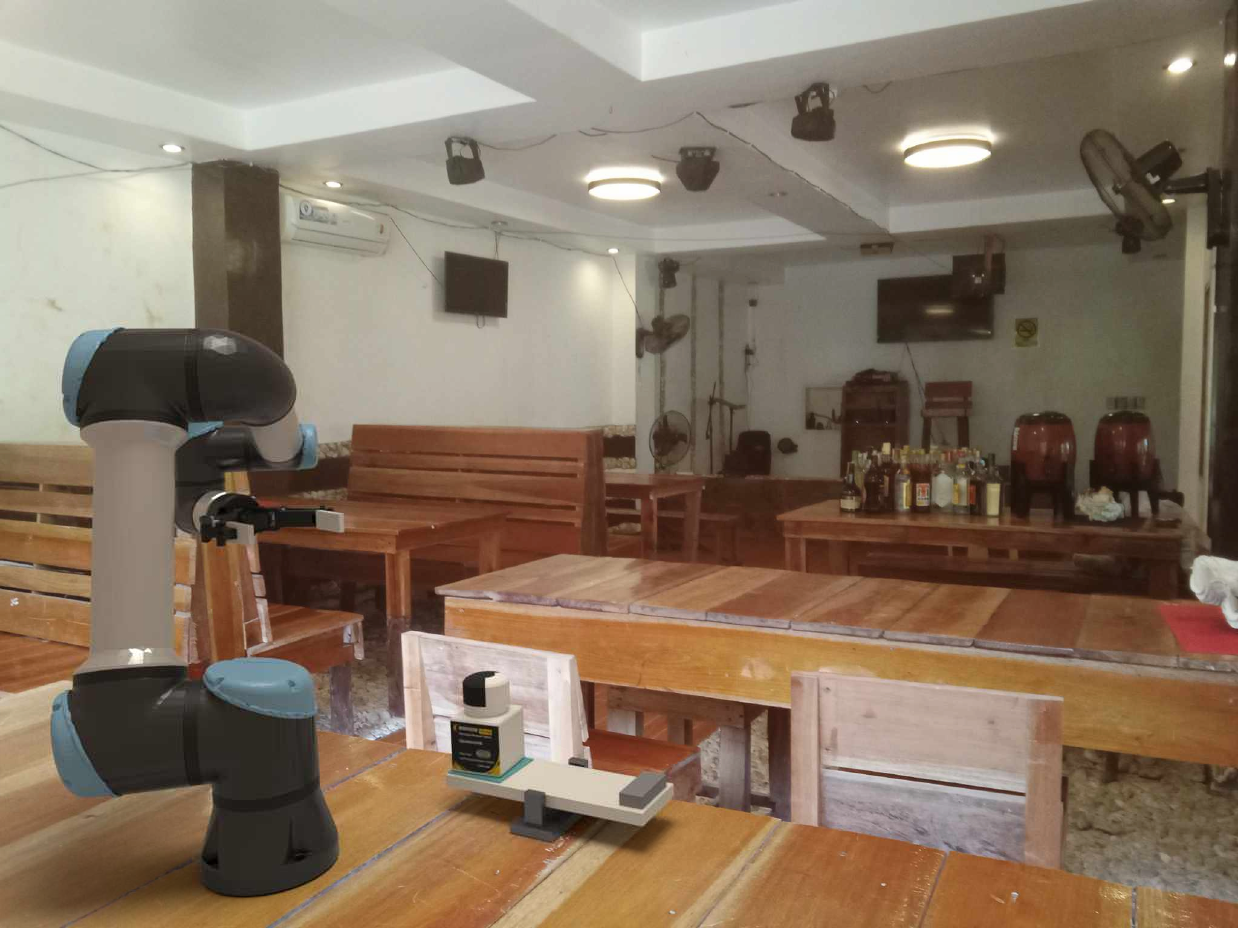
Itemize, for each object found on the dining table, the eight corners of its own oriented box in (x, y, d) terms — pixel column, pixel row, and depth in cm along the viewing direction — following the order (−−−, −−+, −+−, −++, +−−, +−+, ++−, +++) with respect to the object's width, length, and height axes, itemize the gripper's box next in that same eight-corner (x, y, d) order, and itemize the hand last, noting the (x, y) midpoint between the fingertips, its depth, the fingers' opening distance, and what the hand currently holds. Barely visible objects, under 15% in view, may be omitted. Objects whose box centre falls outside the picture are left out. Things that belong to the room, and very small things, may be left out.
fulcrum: (603, 798, 125) (602, 760, 124) (552, 842, 113) (551, 800, 113) (563, 790, 127) (562, 752, 127) (510, 832, 116) (508, 791, 115)
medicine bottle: (451, 771, 123) (447, 680, 122) (478, 751, 129) (475, 664, 128) (500, 778, 120) (496, 685, 119) (525, 757, 127) (522, 669, 126)
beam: (673, 795, 118) (673, 771, 117) (642, 826, 110) (642, 801, 109) (486, 760, 130) (485, 738, 130) (446, 785, 122) (445, 763, 122)
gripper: (304, 530, 156) (376, 543, 142) (146, 552, 138) (210, 570, 124) (302, 484, 156) (374, 493, 141) (143, 501, 137) (207, 513, 123)
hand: (298, 529), depth 132 cm, fingers open, 13 cm apart
